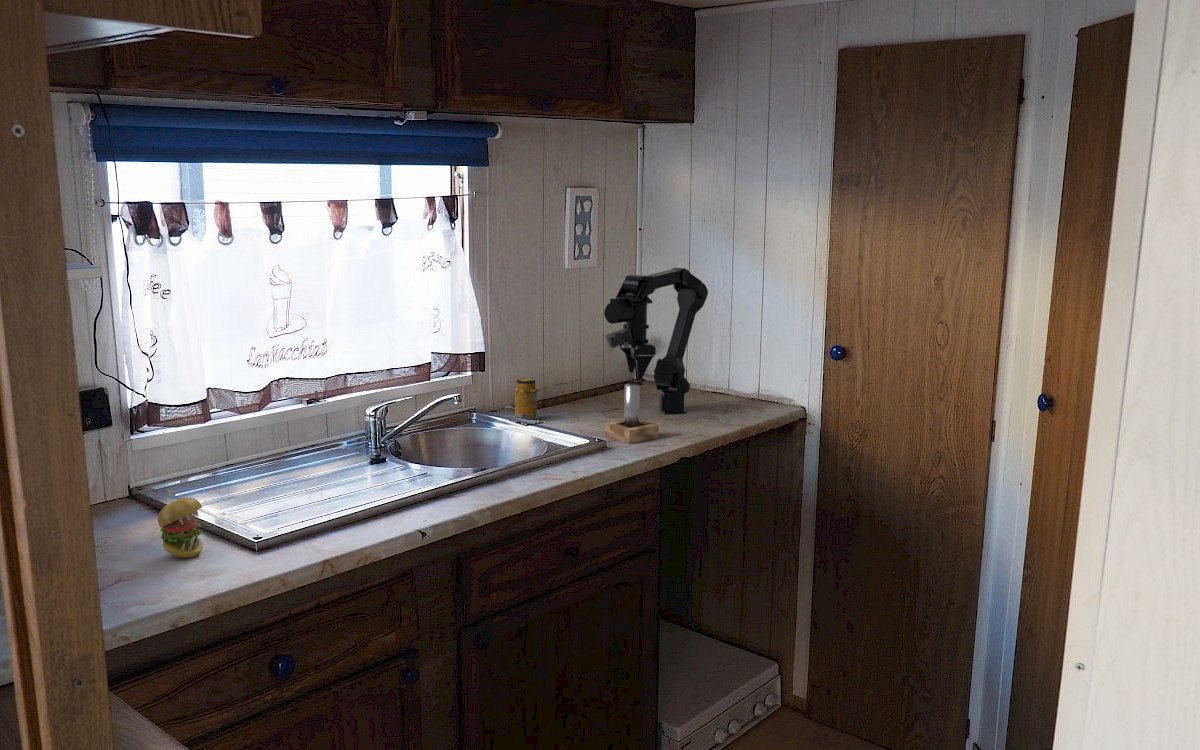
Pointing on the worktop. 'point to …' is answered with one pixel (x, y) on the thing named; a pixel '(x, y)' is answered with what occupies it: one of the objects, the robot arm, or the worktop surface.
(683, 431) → the worktop surface
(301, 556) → the worktop surface
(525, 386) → the condiment
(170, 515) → the hamburger
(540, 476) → the worktop surface
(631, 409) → the peg
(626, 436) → the socket
